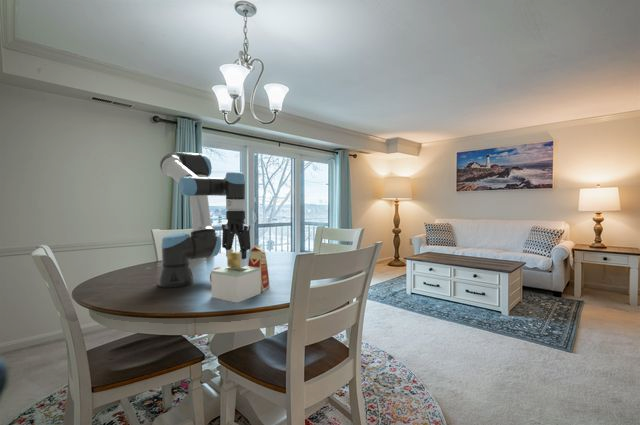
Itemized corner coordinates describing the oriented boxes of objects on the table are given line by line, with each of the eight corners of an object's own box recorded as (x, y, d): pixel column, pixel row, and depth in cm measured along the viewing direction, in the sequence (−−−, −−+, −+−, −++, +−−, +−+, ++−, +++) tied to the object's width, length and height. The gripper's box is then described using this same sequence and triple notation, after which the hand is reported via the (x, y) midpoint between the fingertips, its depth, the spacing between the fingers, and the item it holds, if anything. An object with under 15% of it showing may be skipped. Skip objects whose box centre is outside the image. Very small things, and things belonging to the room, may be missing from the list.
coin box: (211, 297, 136) (211, 270, 135) (236, 288, 148) (235, 264, 147) (237, 302, 129) (237, 274, 128) (260, 293, 141) (260, 267, 140)
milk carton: (263, 291, 144) (262, 245, 143) (243, 290, 146) (242, 244, 145) (270, 285, 153) (270, 242, 152) (251, 284, 155) (251, 242, 154)
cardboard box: (227, 266, 138) (227, 252, 137) (233, 265, 140) (233, 251, 140) (238, 268, 135) (238, 253, 134) (244, 266, 137) (243, 252, 137)
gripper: (212, 209, 138) (213, 265, 139) (247, 210, 129) (247, 270, 130) (225, 209, 144) (226, 262, 146) (259, 210, 135) (260, 266, 136)
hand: (236, 265), depth 138 cm, fingers closed on cardboard box, 6 cm apart
